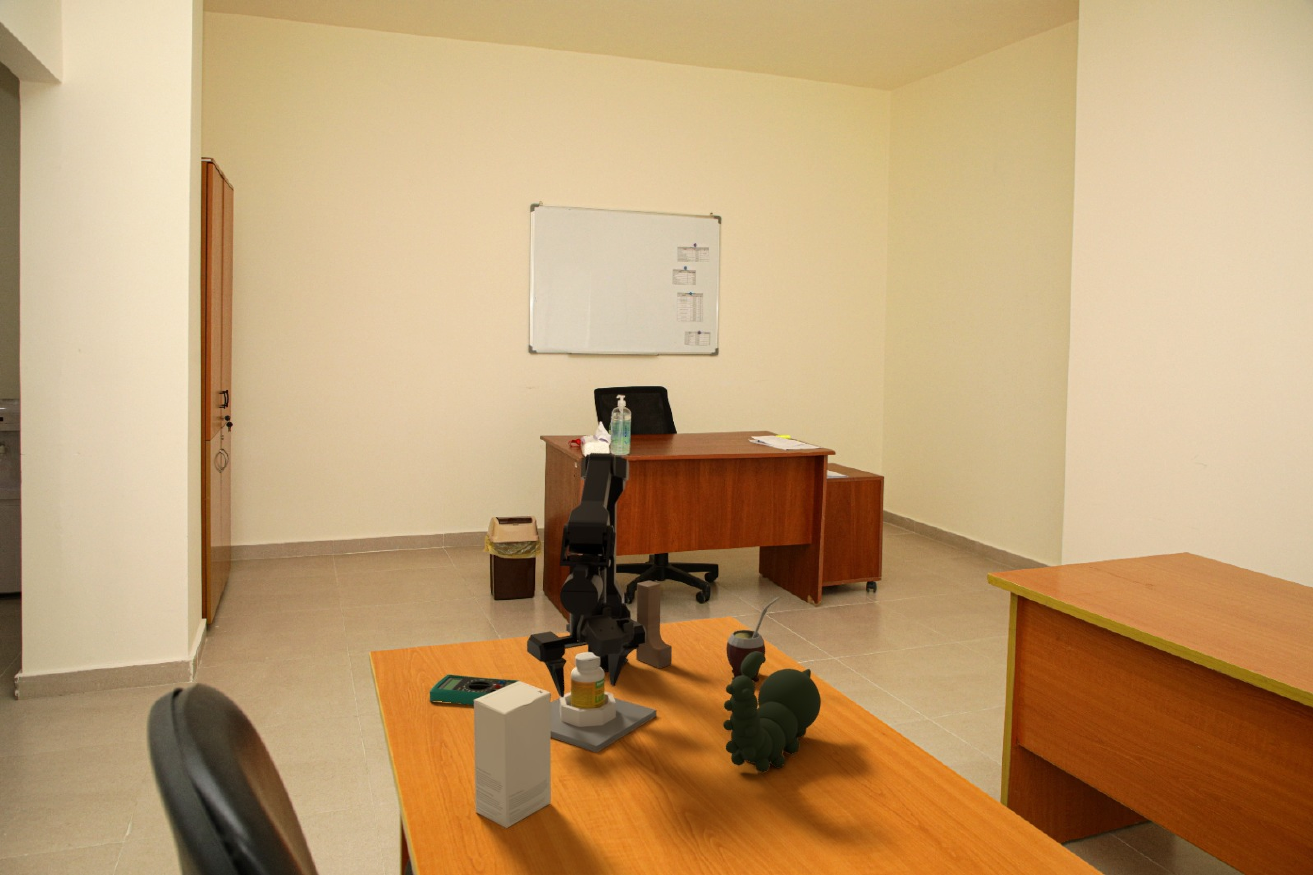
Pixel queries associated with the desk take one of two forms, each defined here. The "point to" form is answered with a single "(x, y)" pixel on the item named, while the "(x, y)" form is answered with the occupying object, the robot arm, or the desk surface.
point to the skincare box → (512, 753)
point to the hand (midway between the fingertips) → (587, 690)
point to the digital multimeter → (465, 688)
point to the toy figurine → (769, 713)
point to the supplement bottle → (587, 682)
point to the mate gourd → (745, 645)
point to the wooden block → (651, 626)
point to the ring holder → (596, 721)
